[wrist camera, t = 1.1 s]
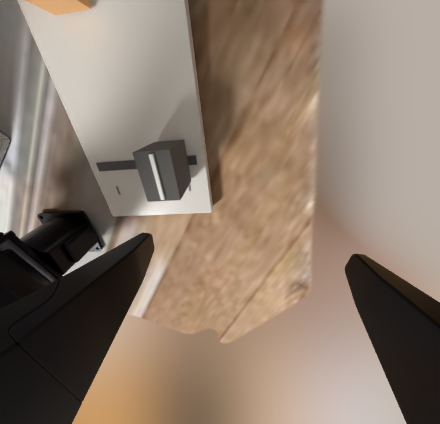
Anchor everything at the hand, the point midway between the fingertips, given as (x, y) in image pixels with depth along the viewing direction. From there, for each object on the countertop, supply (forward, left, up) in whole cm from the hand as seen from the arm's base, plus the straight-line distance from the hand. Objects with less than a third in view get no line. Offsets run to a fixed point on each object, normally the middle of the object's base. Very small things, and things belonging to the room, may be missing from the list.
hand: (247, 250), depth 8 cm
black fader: (-6, +1, -11) cm, 13 cm away
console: (-9, +8, -13) cm, 18 cm away
